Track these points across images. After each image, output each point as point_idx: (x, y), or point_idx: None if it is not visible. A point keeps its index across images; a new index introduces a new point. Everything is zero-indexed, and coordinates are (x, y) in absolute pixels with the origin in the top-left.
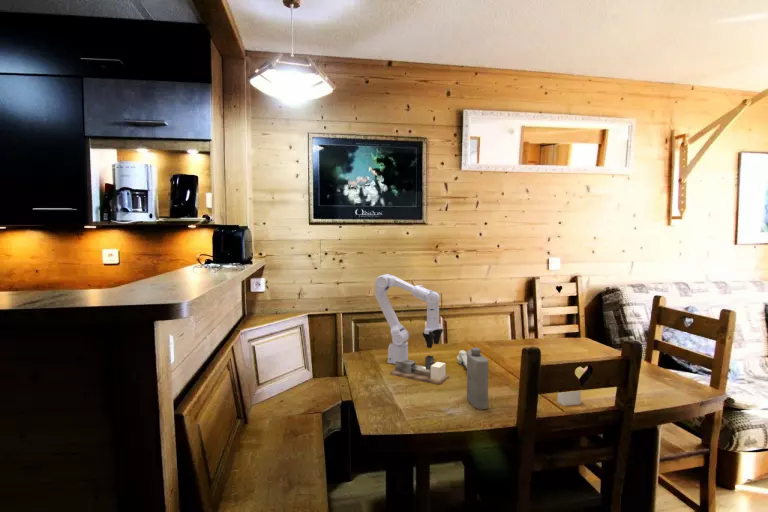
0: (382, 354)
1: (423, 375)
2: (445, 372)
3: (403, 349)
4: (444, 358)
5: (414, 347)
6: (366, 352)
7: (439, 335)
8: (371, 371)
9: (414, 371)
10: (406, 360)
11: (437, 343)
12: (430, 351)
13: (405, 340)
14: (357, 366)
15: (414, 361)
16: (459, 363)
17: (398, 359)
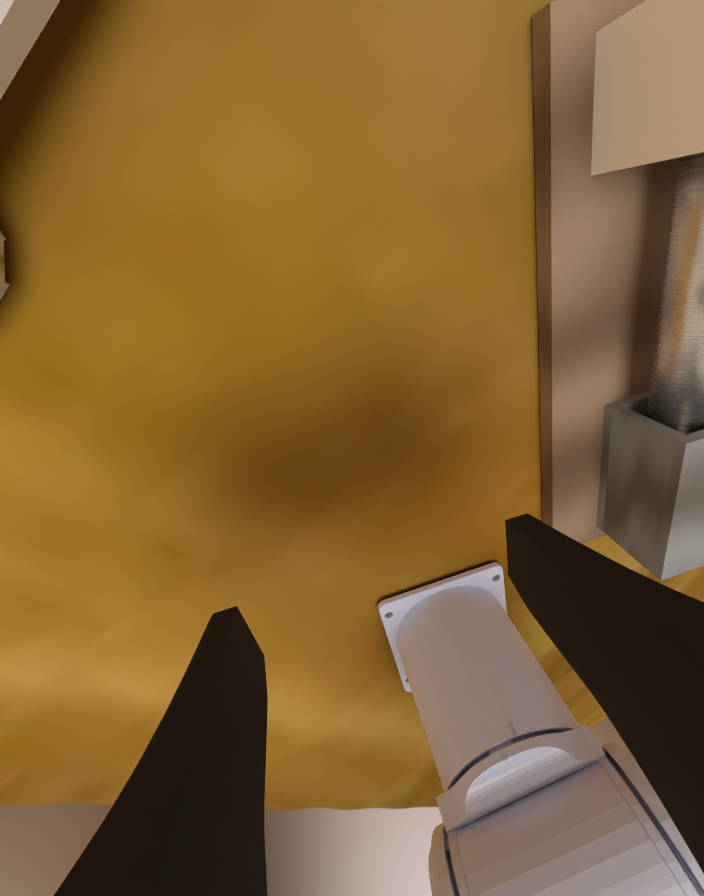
0: (394, 755)
1: None
2: (633, 8)
3: (546, 695)
4: (49, 513)
5: (102, 794)
6: (427, 796)
7: (183, 825)
8: (679, 587)
9: (624, 399)
10: (689, 515)
11: (240, 624)
12: (40, 700)
13: (573, 812)
14: None
15: (692, 448)
16: (1, 256)
17: (687, 570)
